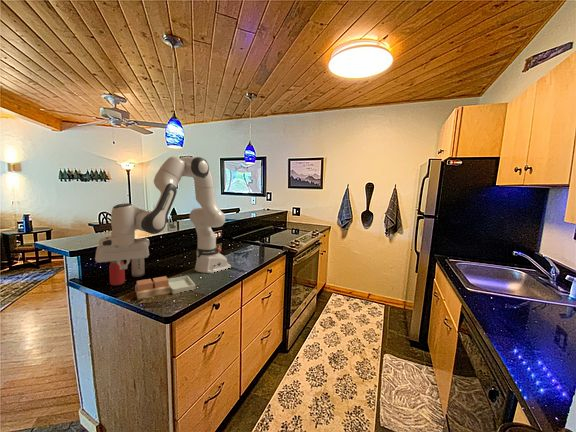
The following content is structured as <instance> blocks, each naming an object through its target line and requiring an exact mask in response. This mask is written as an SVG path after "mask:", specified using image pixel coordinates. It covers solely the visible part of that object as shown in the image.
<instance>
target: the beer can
mask: <svg viewBox="0 0 576 432" xmlns="http://www.w3.org/2000/svg"><path fill="white" fill-rule="evenodd" d="M120 264H121V265H125V264H126V263H125V262H124V260H121V262H120ZM108 267H109V272H108V273H109V285H111V286H120V285H122V284H125V282H126V271H125V270H126V269H122V270H120V266H119V265H118V264H117V261H109V266H108Z"/></svg>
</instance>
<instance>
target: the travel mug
mask: <svg viewBox="0 0 576 432" xmlns="http://www.w3.org/2000/svg"><path fill="white" fill-rule="evenodd" d="M143 276H145V258H138V259H131V277H133V278H139V277H143Z"/></svg>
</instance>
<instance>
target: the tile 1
mask: <svg viewBox="0 0 576 432" xmlns="http://www.w3.org/2000/svg"><path fill="white" fill-rule="evenodd" d="M136 285H137V289H138V291H143V290H148V289H153V279H151V278H148V279H141V280H136Z"/></svg>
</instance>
